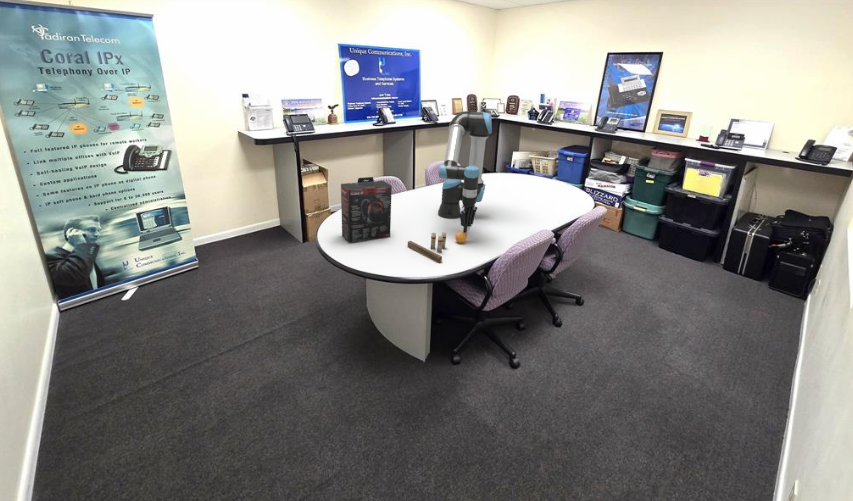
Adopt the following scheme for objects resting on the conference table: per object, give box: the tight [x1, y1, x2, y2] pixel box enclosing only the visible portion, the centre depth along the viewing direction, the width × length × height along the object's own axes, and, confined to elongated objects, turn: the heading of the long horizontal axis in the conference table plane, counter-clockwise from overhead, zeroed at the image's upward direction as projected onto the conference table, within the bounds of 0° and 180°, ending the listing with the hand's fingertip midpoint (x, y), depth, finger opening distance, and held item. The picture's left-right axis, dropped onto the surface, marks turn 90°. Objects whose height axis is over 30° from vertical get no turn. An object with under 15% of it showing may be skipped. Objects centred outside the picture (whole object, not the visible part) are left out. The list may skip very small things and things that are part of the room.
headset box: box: [340, 176, 393, 244], centre depth 222 cm, size 25×12×33 cm, turn 120°
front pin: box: [440, 231, 447, 250], centre depth 218 cm, size 2×2×8 cm
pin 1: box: [430, 232, 437, 250], centre depth 216 cm, size 2×2×8 cm
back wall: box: [407, 240, 443, 264], centre depth 211 cm, size 2×24×3 cm, turn 42°
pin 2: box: [436, 235, 443, 254], centre depth 213 cm, size 2×2×8 cm
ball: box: [454, 231, 467, 244], centre depth 227 cm, size 6×6×6 cm
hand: (465, 237), depth 229 cm, fingers closed
